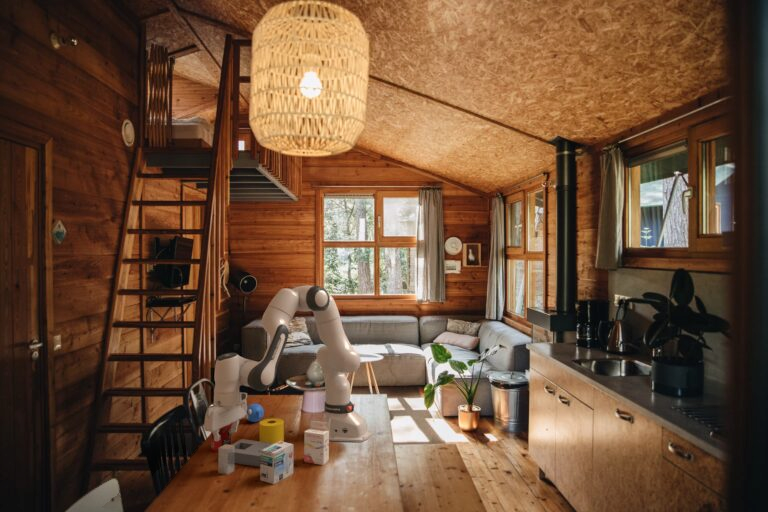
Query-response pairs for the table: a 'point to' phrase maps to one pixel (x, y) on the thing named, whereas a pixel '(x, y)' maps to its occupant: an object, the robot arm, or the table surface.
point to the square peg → (226, 459)
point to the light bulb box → (276, 462)
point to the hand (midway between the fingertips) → (225, 436)
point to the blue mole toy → (254, 413)
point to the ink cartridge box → (316, 443)
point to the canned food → (225, 438)
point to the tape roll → (272, 430)
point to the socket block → (249, 452)
